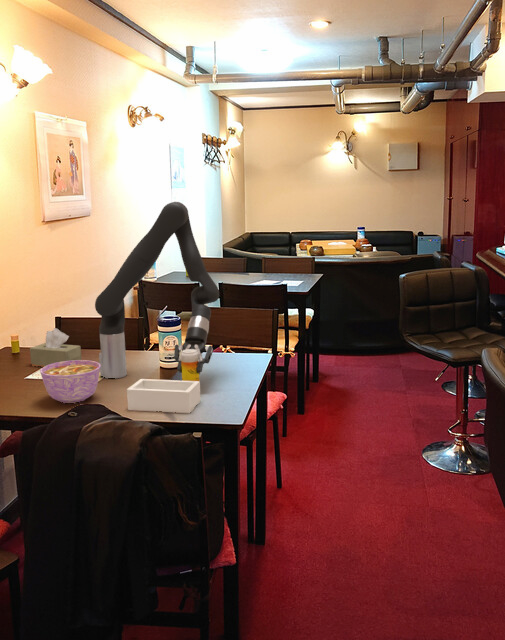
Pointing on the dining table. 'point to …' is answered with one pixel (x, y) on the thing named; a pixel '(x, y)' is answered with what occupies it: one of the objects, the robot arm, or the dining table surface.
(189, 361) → the beer can
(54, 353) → the tissue box
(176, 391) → the white rectangular tray
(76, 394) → the bowl of food
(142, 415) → the dining table surface
